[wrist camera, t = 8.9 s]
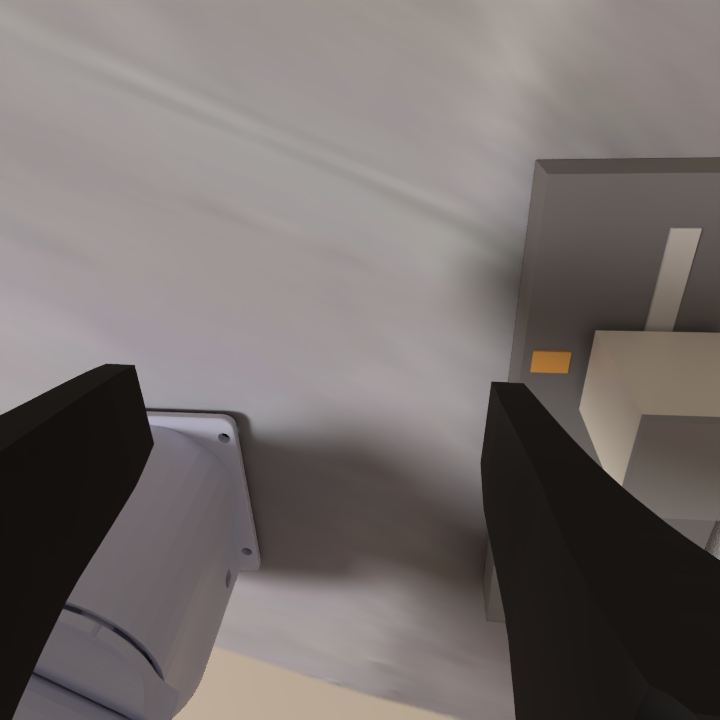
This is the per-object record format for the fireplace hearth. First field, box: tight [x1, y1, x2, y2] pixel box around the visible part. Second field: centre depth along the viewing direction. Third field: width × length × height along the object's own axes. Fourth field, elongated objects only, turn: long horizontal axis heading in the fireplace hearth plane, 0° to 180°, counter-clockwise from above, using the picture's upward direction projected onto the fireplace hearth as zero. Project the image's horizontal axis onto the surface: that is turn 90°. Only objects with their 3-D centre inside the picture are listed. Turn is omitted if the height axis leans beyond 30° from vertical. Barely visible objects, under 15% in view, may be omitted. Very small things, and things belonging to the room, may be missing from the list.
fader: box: [579, 330, 720, 521], centre depth 16 cm, size 3×4×5 cm
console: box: [483, 158, 720, 622], centre depth 21 cm, size 20×8×2 cm, turn 2°
